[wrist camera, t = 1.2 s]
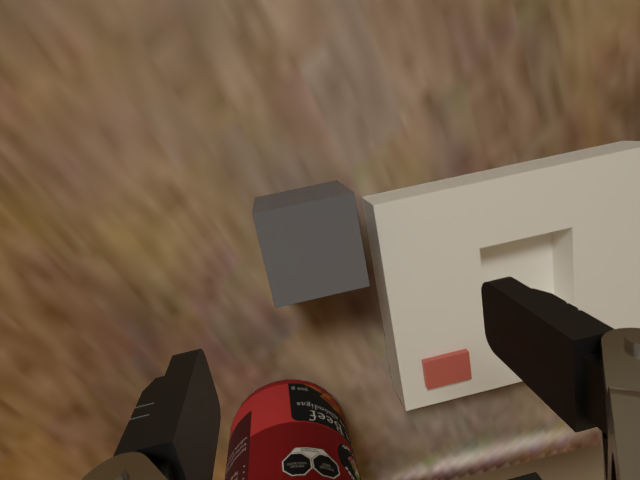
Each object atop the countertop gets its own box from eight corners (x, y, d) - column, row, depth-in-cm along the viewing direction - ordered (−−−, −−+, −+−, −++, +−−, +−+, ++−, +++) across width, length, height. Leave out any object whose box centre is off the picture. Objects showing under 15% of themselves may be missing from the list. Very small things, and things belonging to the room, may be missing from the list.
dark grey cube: (334, 178, 26) (353, 192, 20) (347, 253, 28) (369, 286, 22) (255, 195, 26) (252, 214, 20) (272, 270, 27) (275, 308, 21)
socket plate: (623, 140, 28) (670, 142, 25) (621, 327, 32) (662, 349, 29) (361, 196, 27) (374, 206, 23) (392, 384, 30) (407, 415, 27)
